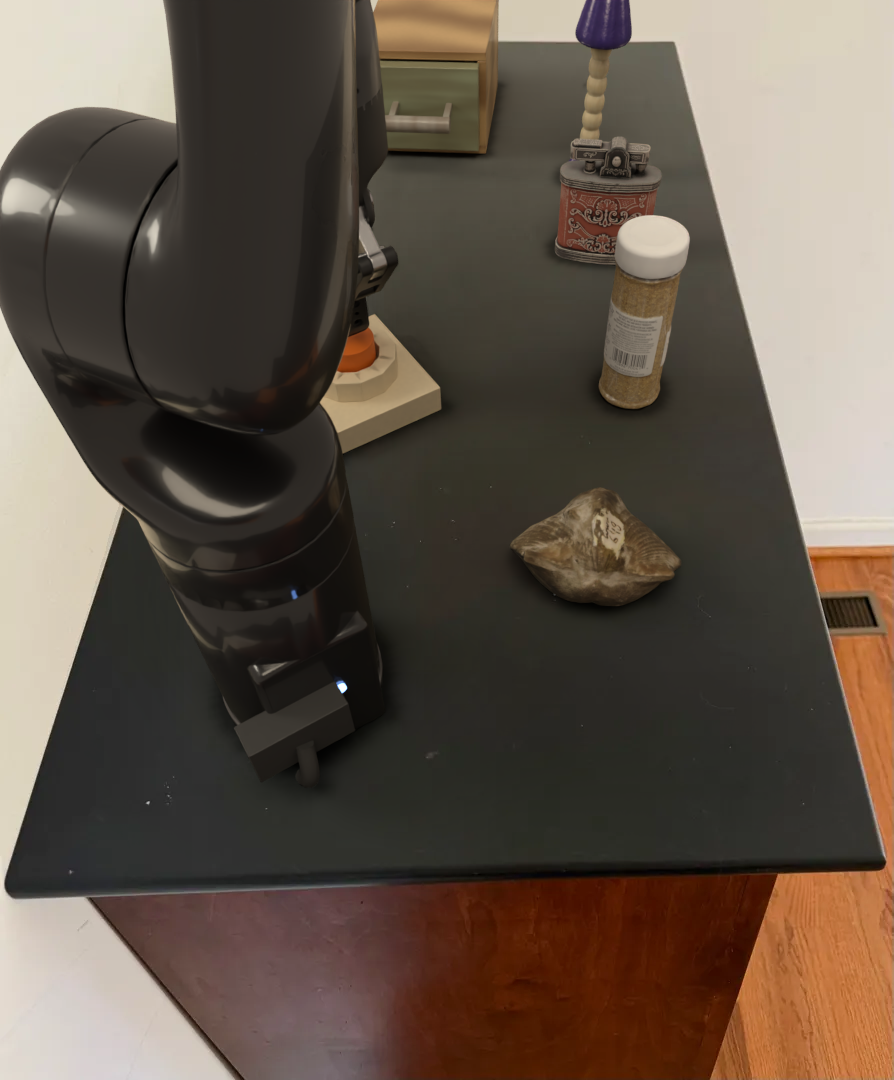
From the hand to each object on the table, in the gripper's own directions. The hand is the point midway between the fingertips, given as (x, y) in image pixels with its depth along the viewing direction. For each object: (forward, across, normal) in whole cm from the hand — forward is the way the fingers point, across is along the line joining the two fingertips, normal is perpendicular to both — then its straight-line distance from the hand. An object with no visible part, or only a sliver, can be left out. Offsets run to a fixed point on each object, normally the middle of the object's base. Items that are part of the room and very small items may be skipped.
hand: (351, 327), depth 64 cm
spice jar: (+6, -11, -17) cm, 21 cm away
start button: (+3, 0, 0) cm, 3 cm away
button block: (+6, 0, 0) cm, 6 cm away
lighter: (+6, +4, -26) cm, 27 cm away
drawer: (+5, +29, -23) cm, 38 cm away
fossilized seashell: (+6, -23, -5) cm, 24 cm away
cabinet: (+6, +32, -25) cm, 42 cm away
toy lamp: (+7, +14, -32) cm, 35 cm away
